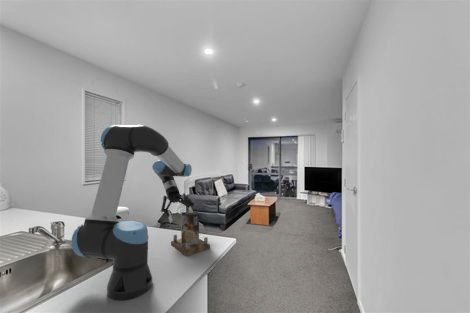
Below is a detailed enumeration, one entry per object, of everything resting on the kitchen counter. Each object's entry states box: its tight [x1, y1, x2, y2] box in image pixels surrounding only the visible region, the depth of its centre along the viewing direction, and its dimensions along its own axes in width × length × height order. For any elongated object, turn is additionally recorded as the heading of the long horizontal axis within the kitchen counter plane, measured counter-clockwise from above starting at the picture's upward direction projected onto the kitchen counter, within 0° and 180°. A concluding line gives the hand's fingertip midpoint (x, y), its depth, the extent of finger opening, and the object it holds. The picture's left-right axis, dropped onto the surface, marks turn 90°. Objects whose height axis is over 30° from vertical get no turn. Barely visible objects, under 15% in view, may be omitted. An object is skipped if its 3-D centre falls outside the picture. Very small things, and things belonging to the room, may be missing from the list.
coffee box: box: [180, 211, 200, 246], centre depth 118 cm, size 9×6×16 cm
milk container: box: [116, 206, 130, 222], centre depth 122 cm, size 17×17×18 cm
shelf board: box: [170, 234, 211, 257], centre depth 118 cm, size 14×17×6 cm
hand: (182, 219), depth 125 cm, fingers open, 13 cm apart
